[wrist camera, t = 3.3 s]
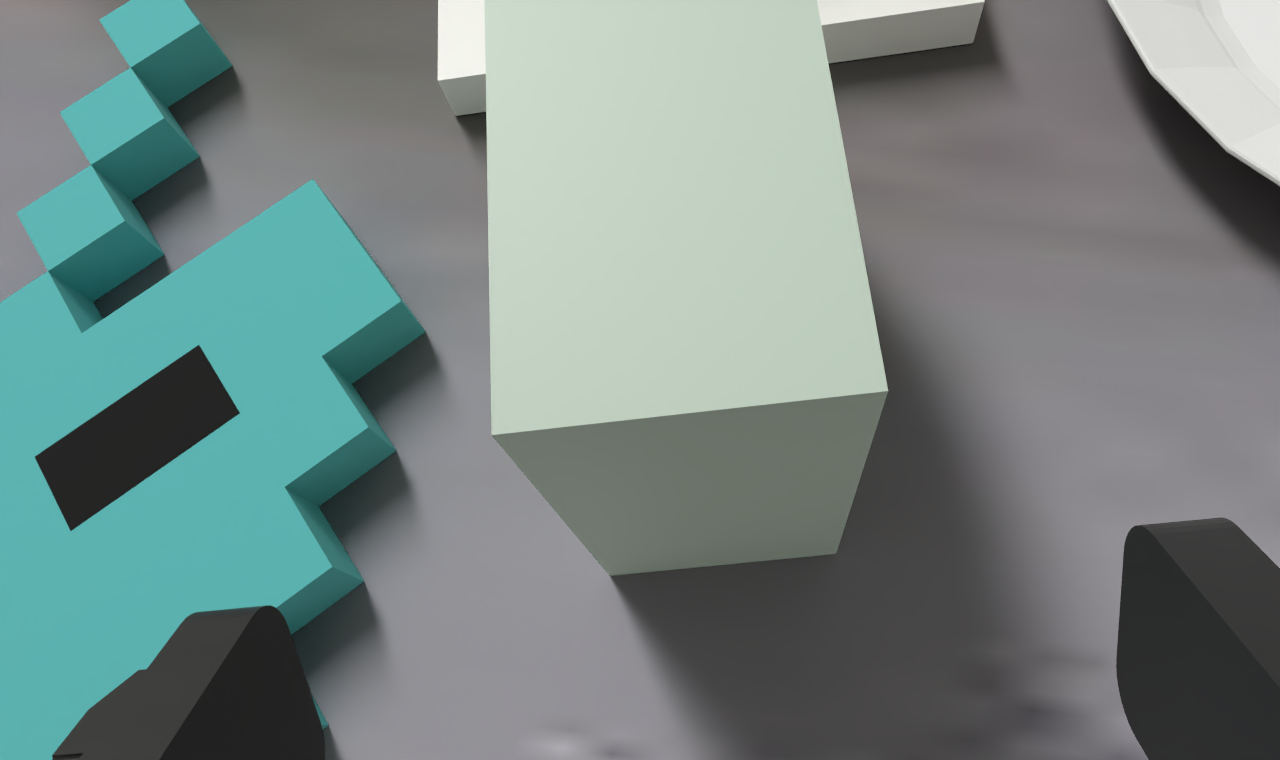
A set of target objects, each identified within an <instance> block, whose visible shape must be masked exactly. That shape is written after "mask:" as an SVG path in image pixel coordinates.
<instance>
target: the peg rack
mask: <svg viewBox="0 0 1280 760" xmlns="http://www.w3.org/2000/svg"><path fill="white" fill-rule="evenodd" d="M984 3H985V1H984V0H817V4H818V10H819V15H820V21H821V26H822V32H823V37H824V42H825V48H826V53H827V59H828V63H835V62H843V61H850V60H857V59H864V58H871V57H878V56H885V55H892V54H899V53H906V52H914V51H921V50H928V49H935V48H942V47H949V46H956V45H963V44H970V43H973V41H974V38H975V34H976V31H977V27H978V24H979V20H980V17H981V13H982V10H983V6H984ZM438 82H439V84H440V86H441V88H442V90H443V92H444V94H445V97H446V99H447V101H448V103H449V105H450V107H451V109H452V111H453V113H454V115H455V116H459V115H466V114H473V113H480V112H486V61H485V1H484V0H438Z"/></svg>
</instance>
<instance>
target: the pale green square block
mask: <svg viewBox="0 0 1280 760" xmlns="http://www.w3.org/2000/svg"><path fill="white" fill-rule="evenodd" d="M484 1H485V61H486V121H487V182H488V242H489V302H490V362H491V422H492V436H493V437H494V438H495V440H496V441H497V442H498V443H499V444H500V446H501V447H502V448H503V449H504V450H505V452H506V453H507V454H508V455H509V456H510V458H511V459H512V460H513V461H514V462H515V463H516V465H517V466H518V467H519V468H520V469H521V471H522V472H523V473H524V474H525V475H526V477H527V478H528V479H529V480H530V481H531V483H532V484H533V485H534V486H535V487H536V489H537V490H538V491H539V492H540V493H541V494H542V496H543V497H544V498H545V499H546V500H547V502H548V503H549V504H550V505H551V506H552V508H553V509H554V510H555V511H556V512H557V514H558V515H559V516H560V517H561V518H562V520H563V521H564V522H565V523H566V524H567V525H568V527H569V528H570V529H571V530H572V531H573V533H574V534H575V535H576V536H577V537H578V539H579V540H580V541H581V542H582V543H583V545H584V546H585V547H586V548H587V549H588V551H589V552H590V553H591V554H592V555H593V557H594V558H595V559H596V560H597V561H598V562H599V564H600V565H601V566H602V567H603V568H604V570H605V571H606V572H607V573H608V574H609V576H614V575H624V574H634V573H645V572H655V571H665V570H675V569H686V568H696V567H706V566H716V565H727V564H737V563H747V562H757V561H768V560H778V559H788V558H798V557H809V556H819V555H829V554H836V553H837V550H838V547H839V544H840V540H841V537H842V534H843V531H844V528H845V525H846V522H847V519H848V515H849V512H850V509H851V506H852V503H853V500H854V497H855V494H856V490H857V487H858V484H859V481H860V478H861V475H862V472H863V468H864V465H865V462H866V459H867V456H868V453H869V450H870V447H871V443H872V440H873V437H874V434H875V431H876V428H877V425H878V421H879V418H880V415H881V412H882V409H883V406H884V403H885V400H886V396H887V393H888V387H887V381H886V376H885V370H884V365H883V359H882V354H881V349H880V343H879V338H878V332H877V327H876V321H875V316H874V310H873V305H872V299H871V294H870V288H869V283H868V277H867V272H866V267H865V261H864V256H863V250H862V245H861V239H860V234H859V228H858V223H857V217H856V212H855V206H854V201H853V196H852V190H851V185H850V179H849V174H848V168H847V163H846V157H845V152H844V146H843V141H842V135H841V130H840V124H839V119H838V114H837V108H836V103H835V97H834V92H833V86H832V81H831V75H830V70H829V64H828V59H827V53H826V48H825V42H824V37H823V32H822V26H821V21H820V15H819V10H818V4H817V0H484Z"/></svg>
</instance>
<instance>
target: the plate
mask: <svg viewBox="0 0 1280 760" xmlns="http://www.w3.org/2000/svg"><path fill="white" fill-rule="evenodd" d="M1107 2H1108V3H1109V5H1110V7H1111V8H1112V10H1113V12H1114V14H1115V15H1116V17H1117V19H1118V20H1119V22H1120V24H1121V25H1122V27H1123V29H1124V31H1125V32H1126V34H1127V36H1128V37H1129V39H1130V41H1131V42H1132V44H1133V46H1134V48H1135V49H1136V51H1137V53H1138V54H1139V56H1140V58H1141V59H1142V61H1143V63H1144V65H1145V66H1146V68H1147V70H1148V71H1149V73H1150V74H1151V75H1152V76H1153V78H1154V79H1155V80H1156V81H1157V82H1158V83H1159V84H1160V85H1161V86H1162V87H1163V88H1164V89H1165V90H1166V91H1167V92H1168V93H1169V94H1170V95H1171V96H1172V97H1173V98H1174V99H1175V100H1176V101H1177V102H1178V103H1179V104H1180V105H1181V106H1182V107H1183V108H1184V109H1185V110H1186V111H1187V112H1188V113H1189V114H1190V115H1191V116H1192V117H1193V118H1194V119H1195V120H1196V121H1197V122H1198V123H1199V124H1200V125H1201V126H1202V127H1203V128H1204V129H1205V130H1206V131H1207V132H1208V133H1209V134H1210V135H1211V136H1212V137H1213V138H1214V140H1215V141H1216V142H1217V143H1218V144H1219V145H1220V146H1221V147H1222V148H1223V149H1224V150H1225V151H1226V152H1228V153H1229V154H1231V155H1232V156H1234V157H1235V158H1237V159H1239V160H1240V161H1242V162H1243V163H1245V164H1246V165H1248V166H1249V167H1251V168H1252V169H1254V170H1255V171H1257V172H1258V173H1260V174H1261V175H1263V176H1265V177H1266V178H1268V179H1269V180H1271V181H1272V182H1274V183H1275V184H1277V185H1278V186H1280V0H1107Z"/></svg>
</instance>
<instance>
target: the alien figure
mask: <svg viewBox="0 0 1280 760" xmlns="http://www.w3.org/2000/svg"><path fill="white" fill-rule="evenodd" d="M100 22H101V23H102V25H103V26H104V28H105V29H106V31H107V32H108V34H109V35H110V37H111V38H112V40H113V41H114V43H115V45H116V46H117V48H118V49H119V51H120V52H121V54H122V55H123V57H124V58H125V60H126V61H127V63H128V64H129V66H130V67H131V68H129V69H127V70H126V71H124V72H123V73H121V74H120V75H118V76H116V77H115V78H113V79H112V80H110V81H108V82H107V83H105V84H104V85H102V86H101V87H99V88H97V89H96V90H94V91H93V92H91V93H90V94H88V95H86V96H85V97H83V98H82V99H80V100H78V101H77V102H75V103H74V104H72V105H71V106H69V107H67V108H66V109H64V110H63V111H61V112H60V114H61V116H62V117H63V119H64V121H65V122H66V124H67V126H68V127H69V129H70V131H71V132H72V134H73V136H74V137H75V139H76V141H77V142H78V144H79V145H80V147H81V149H82V150H83V152H84V154H85V155H86V157H87V159H88V160H89V162H90V164H91V165H90V166H89V167H87V168H86V169H84V170H82V171H81V172H79V173H78V174H76V175H75V176H73V177H72V178H70V179H68V180H67V181H65V182H64V183H62V184H61V185H59V186H58V187H56V188H54V189H53V190H51V191H50V192H48V193H47V194H45V195H44V196H42V197H41V198H39V199H37V200H36V201H34V202H33V203H31V204H30V205H28V206H27V207H25V208H23V209H22V210H20V211H19V212H17V215H18V216H19V218H20V220H21V222H22V224H23V226H24V228H25V229H26V231H27V233H28V235H29V237H30V239H31V241H32V242H33V244H34V246H35V248H36V250H37V252H38V253H39V255H40V257H41V259H42V261H43V263H44V265H45V266H46V268H47V270H48V271H47V272H46V273H44V274H43V275H41V276H40V277H38V278H37V279H35V280H34V281H32V282H31V283H29V284H28V285H26V286H25V287H23V288H22V289H20V290H18V291H17V292H15V293H14V294H12V295H11V296H9V297H8V298H6V299H5V300H3V301H2V302H0V760H52V759H53V758H52V755H53V754H54V752H55V751H56V750H57V748H58V747H59V746H60V745H61V743H62V742H63V741H64V740H65V738H66V737H67V736H68V735H69V733H70V732H71V731H72V730H73V728H74V727H75V726H76V724H77V723H78V722H79V721H80V719H81V718H82V717H83V716H84V714H85V713H86V712H87V711H88V710H89V709H90V708H91V707H92V706H94V705H95V704H96V703H97V702H99V701H100V700H101V699H102V698H104V697H105V696H106V695H108V694H109V693H110V692H111V691H113V690H114V689H115V688H116V687H118V686H119V685H120V684H121V683H123V682H124V681H125V680H127V679H128V678H129V677H130V676H132V675H133V674H134V673H135V672H137V671H138V670H143V669H147V668H148V667H149V665H150V664H151V663H152V661H153V660H154V659H155V657H156V656H157V655H158V653H159V652H160V651H161V649H162V648H163V647H164V645H165V644H166V643H167V641H168V640H169V639H170V637H171V636H172V635H173V633H174V632H175V631H176V629H177V628H178V627H179V625H180V624H181V623H182V622H183V621H184V619H185V618H186V617H188V616H189V615H191V614H193V613H195V612H203V611H214V610H224V609H235V608H245V607H256V606H267V605H270V606H274V607H275V608H277V609H278V610H279V611H280V612H281V613H282V615H283V616H284V618H285V620H286V622H287V625H288V627H289V630H290V633H291V635H292V634H293V633H295V632H296V631H297V630H299V629H300V628H302V627H303V626H304V625H306V624H307V623H308V622H310V621H311V620H312V619H314V618H315V617H316V616H318V615H319V614H320V613H322V612H323V611H325V610H326V609H327V608H329V607H330V606H331V605H333V604H334V603H335V602H337V601H338V600H339V599H341V598H342V597H344V596H345V595H346V594H348V593H349V592H350V591H352V590H353V589H354V588H356V587H357V586H358V585H360V584H361V583H363V582H364V580H363V578H362V577H361V575H360V573H359V572H358V570H357V569H356V567H355V565H354V564H353V562H352V560H351V559H350V557H349V555H348V554H347V552H346V551H345V549H344V547H343V546H342V544H341V542H340V541H339V539H338V537H337V536H336V534H335V533H334V531H333V529H332V528H331V526H330V524H329V523H328V521H327V519H326V518H325V516H324V515H323V513H322V511H321V510H320V508H319V506H320V505H322V504H323V503H325V502H326V501H327V500H329V499H330V498H331V497H333V496H334V495H336V494H337V493H338V492H340V491H341V490H343V489H344V488H345V487H347V486H348V485H350V484H351V483H352V482H354V481H355V480H356V479H358V478H359V477H361V476H362V475H363V474H365V473H366V472H368V471H369V470H370V469H372V468H373V467H374V466H376V465H377V464H379V463H380V462H381V461H383V460H384V459H386V458H387V457H388V456H390V455H391V454H393V453H394V452H395V451H396V449H395V448H394V446H393V445H392V443H391V442H390V440H389V439H388V437H387V436H386V434H385V433H384V431H383V430H382V428H381V427H380V425H379V424H378V422H377V421H376V419H375V418H374V416H373V415H372V413H371V412H370V410H369V409H368V407H367V406H366V404H365V403H364V401H363V400H362V398H361V397H360V395H359V394H358V392H357V391H356V389H355V388H354V386H353V385H352V383H354V382H355V381H357V380H358V379H360V378H361V377H362V376H364V375H365V374H367V373H368V372H369V371H371V370H372V369H374V368H375V367H377V366H378V365H379V364H381V363H382V362H384V361H385V360H387V359H388V358H389V357H391V356H392V355H394V354H395V353H396V352H398V351H399V350H401V349H402V348H404V347H405V346H406V345H408V344H409V343H411V342H412V341H413V340H415V339H416V338H418V337H419V336H421V335H422V334H423V333H425V330H424V329H423V327H422V326H421V325H420V323H419V322H418V321H417V319H416V318H415V316H414V315H413V314H412V312H411V311H410V310H409V308H408V307H407V305H406V304H405V303H404V301H403V300H402V299H401V297H400V296H399V294H398V293H397V292H396V290H395V289H394V287H393V286H392V285H391V283H390V282H389V281H388V279H387V278H386V276H385V275H384V274H383V272H382V271H381V270H380V268H379V267H378V265H377V264H376V263H375V261H374V260H373V259H372V257H371V256H370V254H369V253H368V252H367V250H366V249H365V248H364V246H363V245H362V243H361V242H360V241H359V239H358V238H357V236H356V235H355V234H354V232H353V231H352V230H351V228H350V227H349V225H348V224H347V223H346V221H345V220H344V219H343V217H342V216H341V215H340V213H339V212H338V211H337V209H336V208H335V207H334V206H333V204H332V203H331V202H330V200H329V199H328V198H327V196H326V195H325V194H324V193H323V191H322V190H321V189H320V187H319V186H318V185H317V184H316V182H315V181H314V180H313V179H312V180H310V181H309V182H307V183H306V184H304V185H303V186H301V187H300V188H298V189H297V190H295V191H294V192H292V193H291V194H289V195H288V196H286V197H285V198H283V199H282V200H280V201H279V202H277V203H276V204H274V205H273V206H271V207H270V208H268V209H267V210H265V211H264V212H263V213H261V214H260V215H258V216H257V217H255V218H254V219H252V220H251V221H249V222H248V223H246V224H245V225H243V226H242V227H240V228H239V229H237V230H236V231H234V232H233V233H231V234H230V235H228V236H227V237H225V238H224V239H222V240H221V241H219V242H218V243H216V244H215V245H213V246H212V247H210V248H209V249H207V250H206V251H204V252H203V253H201V254H200V255H198V256H197V257H195V258H194V259H192V260H191V261H189V262H188V263H186V264H185V265H183V266H182V267H180V268H179V269H177V270H176V271H174V272H173V273H171V274H170V275H168V276H167V277H165V278H164V279H162V280H161V281H159V282H158V283H156V284H155V285H153V286H152V287H150V288H149V289H147V290H146V291H144V292H143V293H141V294H140V295H138V296H137V297H135V298H134V299H132V300H131V301H129V302H128V303H126V304H125V305H123V306H122V307H120V308H119V309H117V310H116V311H114V312H113V313H111V314H110V315H108V316H107V317H105V318H104V319H102V317H101V315H100V314H99V312H98V310H97V308H96V306H95V305H94V303H93V302H94V301H95V300H97V299H98V298H100V297H101V296H103V295H104V294H106V293H107V292H109V291H110V290H112V289H113V288H115V287H116V286H118V285H119V284H121V283H122V282H124V281H125V280H127V279H128V278H130V277H131V276H133V275H134V274H136V273H137V272H139V271H140V270H142V269H144V268H145V267H147V266H148V265H150V264H151V263H153V262H154V261H156V260H157V259H159V258H160V257H162V256H163V255H165V254H164V253H163V251H162V250H161V248H160V246H159V245H158V243H157V241H156V240H155V238H154V236H153V235H152V233H151V232H150V230H149V228H148V227H147V225H146V223H145V222H144V220H143V218H142V217H141V215H140V214H139V212H138V210H137V209H136V207H135V205H134V204H133V202H132V200H134V199H135V198H137V197H139V196H140V195H142V194H143V193H145V192H146V191H148V190H149V189H151V188H152V187H154V186H155V185H157V184H158V183H160V182H161V181H163V180H165V179H166V178H168V177H169V176H171V175H172V174H174V173H175V172H177V171H178V170H180V169H181V168H183V167H184V166H186V165H188V164H189V163H191V162H192V161H194V160H195V159H197V158H198V157H200V156H199V154H198V153H197V151H196V150H195V148H194V147H193V145H192V144H191V142H190V141H189V139H188V138H187V136H186V135H185V133H184V132H183V130H182V129H181V127H180V126H179V124H178V123H177V121H176V120H175V118H174V117H173V115H172V114H171V112H170V111H169V109H168V107H169V106H171V105H172V104H174V103H175V102H177V101H179V100H180V99H182V98H183V97H185V96H186V95H188V94H189V93H191V92H193V91H194V90H196V89H197V88H199V87H200V86H202V85H203V84H205V83H207V82H208V81H210V80H211V79H213V78H214V77H216V76H218V75H219V74H221V73H222V72H224V71H225V70H227V69H228V68H230V67H232V64H231V63H230V61H229V60H228V59H227V57H226V56H225V55H224V53H223V52H222V50H221V49H220V48H219V46H218V45H217V44H216V42H215V41H214V39H213V38H212V37H211V35H210V34H209V33H208V31H207V30H206V28H205V27H204V26H203V24H202V23H201V22H200V20H199V19H198V18H197V16H196V15H195V14H194V12H193V11H192V10H191V8H190V7H189V6H188V4H187V3H186V2H185V1H184V0H130V1H129V2H127V3H126V4H124V5H122V6H121V7H119V8H118V9H116V10H114V11H113V12H111V13H110V14H108V15H106V16H105V17H103V18H102V19H100ZM311 695H312V694H311ZM312 698H313V696H312ZM313 701H314V704H315V707H316V710H317V713H318V716H319V719H320V722H321V725H322V729H325V728H326V727H327V726H328V723H327V721H326V719H325V718H324V716H323V714H322V712H321V711H320V709H319V707H318V705H317V703H316V702H315V700H314V698H313Z"/></svg>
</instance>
